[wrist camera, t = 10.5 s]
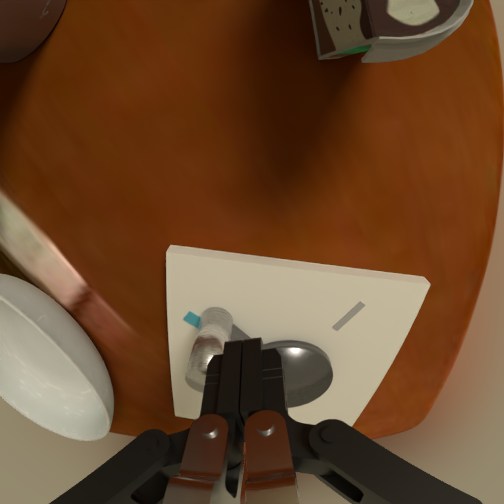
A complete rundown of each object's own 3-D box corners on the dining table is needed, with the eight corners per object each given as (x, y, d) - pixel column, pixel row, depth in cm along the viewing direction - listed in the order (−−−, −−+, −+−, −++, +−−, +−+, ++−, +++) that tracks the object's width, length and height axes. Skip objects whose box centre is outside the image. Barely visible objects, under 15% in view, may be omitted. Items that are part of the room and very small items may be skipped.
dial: (347, 372, 24) (361, 427, 19) (278, 409, 27) (279, 461, 21) (245, 278, 20) (239, 339, 15) (171, 335, 23) (151, 393, 17)
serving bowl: (87, 239, 21) (38, 284, 15) (156, 407, 30) (142, 455, 24) (-36, 255, 23) (-72, 284, 16) (32, 385, 32) (13, 418, 25)
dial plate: (177, 407, 30) (174, 416, 29) (170, 244, 21) (165, 252, 20) (349, 419, 30) (350, 428, 29) (424, 276, 22) (431, 284, 21)
